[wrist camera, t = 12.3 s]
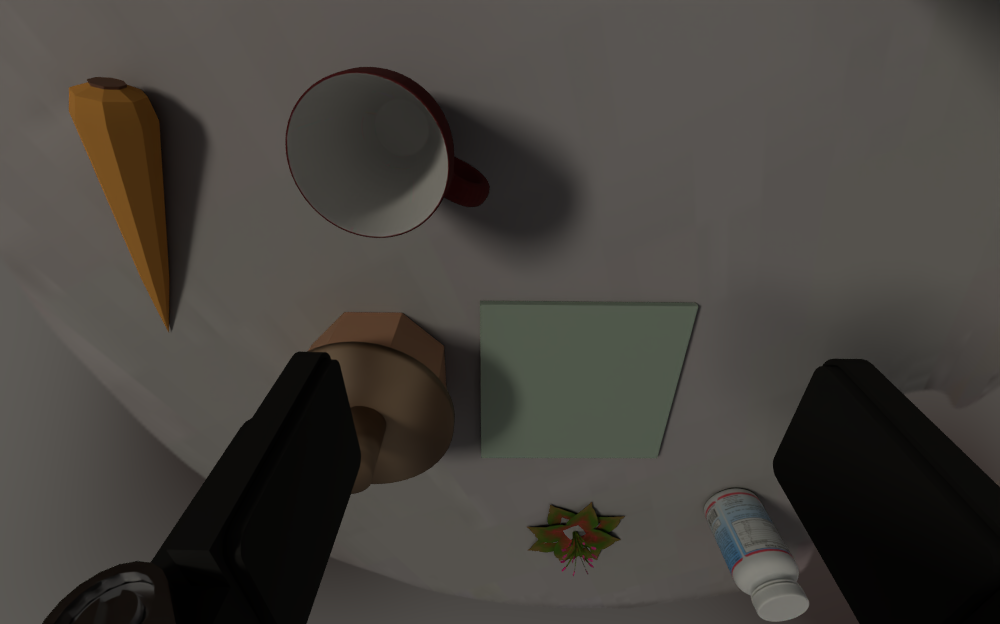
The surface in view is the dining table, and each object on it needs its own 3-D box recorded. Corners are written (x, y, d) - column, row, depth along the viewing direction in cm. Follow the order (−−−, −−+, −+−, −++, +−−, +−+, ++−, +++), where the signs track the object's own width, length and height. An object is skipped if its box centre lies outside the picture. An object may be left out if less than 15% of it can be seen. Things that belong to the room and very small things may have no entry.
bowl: (442, 313, 39) (434, 355, 34) (448, 415, 45) (442, 464, 40) (303, 312, 39) (274, 354, 33) (327, 415, 45) (306, 464, 39)
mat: (695, 302, 39) (698, 306, 38) (655, 453, 48) (657, 458, 47) (480, 300, 38) (480, 304, 38) (481, 453, 47) (481, 457, 47)
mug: (514, 105, 31) (522, 132, 22) (473, 215, 35) (466, 274, 26) (357, 38, 29) (298, 38, 20) (331, 161, 32) (273, 207, 24)
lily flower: (640, 504, 53) (652, 542, 49) (603, 563, 59) (611, 601, 55) (540, 488, 51) (544, 526, 47) (512, 550, 57) (513, 588, 53)
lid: (450, 341, 33) (442, 397, 28) (457, 474, 40) (452, 538, 35) (253, 341, 33) (209, 397, 28) (296, 474, 40) (267, 539, 35)
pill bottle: (727, 526, 54) (778, 632, 45) (691, 508, 52) (735, 614, 43) (769, 498, 52) (832, 604, 42) (732, 478, 50) (789, 584, 40)
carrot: (118, 68, 30) (36, 72, 26) (170, 90, 29) (93, 97, 26) (174, 309, 42) (122, 335, 38) (212, 330, 41) (162, 358, 37)
